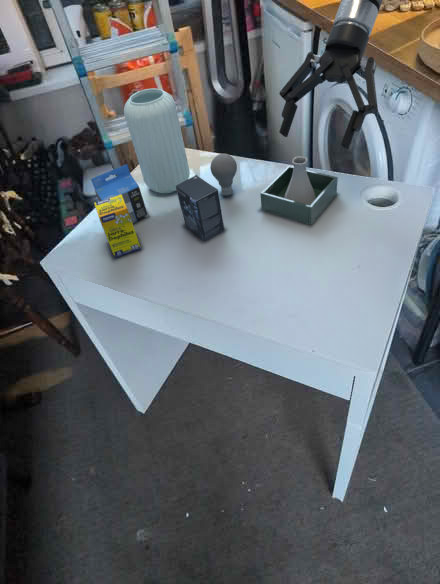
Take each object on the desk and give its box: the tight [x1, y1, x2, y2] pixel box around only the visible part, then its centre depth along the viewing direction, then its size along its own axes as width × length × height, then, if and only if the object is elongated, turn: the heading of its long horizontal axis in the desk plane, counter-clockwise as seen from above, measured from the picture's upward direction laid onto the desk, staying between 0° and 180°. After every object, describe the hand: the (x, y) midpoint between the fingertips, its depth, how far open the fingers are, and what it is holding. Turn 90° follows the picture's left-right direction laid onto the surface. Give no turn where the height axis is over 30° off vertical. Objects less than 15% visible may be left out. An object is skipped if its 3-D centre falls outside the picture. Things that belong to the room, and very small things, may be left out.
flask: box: [284, 155, 315, 205], centre depth 93 cm, size 7×7×10 cm
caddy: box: [259, 165, 339, 226], centre depth 95 cm, size 12×12×4 cm
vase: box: [123, 87, 191, 194], centre depth 101 cm, size 12×12×22 cm
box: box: [176, 174, 225, 242], centre depth 91 cm, size 8×6×11 cm
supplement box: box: [93, 194, 142, 259], centre depth 90 cm, size 6×6×11 cm
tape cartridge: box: [90, 163, 149, 224], centre depth 96 cm, size 9×4×12 cm, turn 123°
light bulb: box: [210, 153, 238, 196], centre depth 100 cm, size 6×6×10 cm
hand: (312, 140), depth 87 cm, fingers open, 13 cm apart
